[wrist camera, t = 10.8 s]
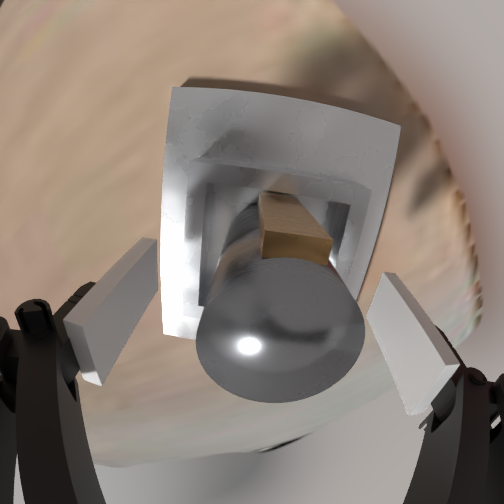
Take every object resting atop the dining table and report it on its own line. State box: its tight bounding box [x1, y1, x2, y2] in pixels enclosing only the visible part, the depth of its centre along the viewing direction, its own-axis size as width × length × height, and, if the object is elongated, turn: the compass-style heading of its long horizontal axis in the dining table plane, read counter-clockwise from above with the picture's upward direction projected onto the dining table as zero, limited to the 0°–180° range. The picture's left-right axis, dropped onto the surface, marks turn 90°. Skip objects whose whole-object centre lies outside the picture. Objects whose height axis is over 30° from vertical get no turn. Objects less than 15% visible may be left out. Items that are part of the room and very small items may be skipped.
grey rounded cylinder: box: [196, 192, 365, 403], centre depth 13 cm, size 5×6×10 cm
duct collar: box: [161, 87, 401, 340], centre depth 17 cm, size 18×14×4 cm
